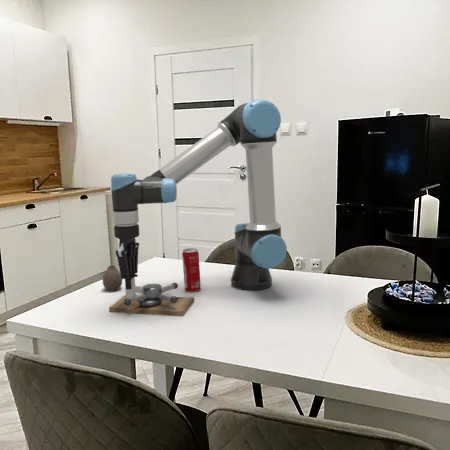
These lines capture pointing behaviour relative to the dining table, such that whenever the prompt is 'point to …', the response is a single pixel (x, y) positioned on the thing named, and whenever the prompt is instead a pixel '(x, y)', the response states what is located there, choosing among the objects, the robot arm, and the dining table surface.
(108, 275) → the vase
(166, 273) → the dining table surface
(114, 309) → the brown wooden board
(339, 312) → the dining table surface
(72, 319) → the dining table surface
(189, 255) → the beverage can
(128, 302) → the cam capstan
